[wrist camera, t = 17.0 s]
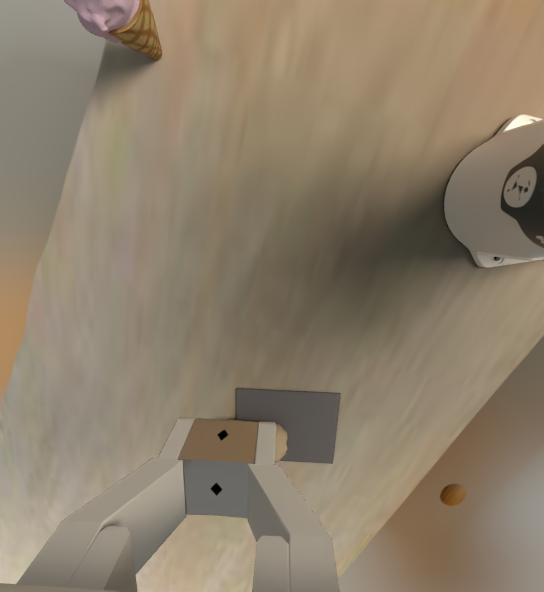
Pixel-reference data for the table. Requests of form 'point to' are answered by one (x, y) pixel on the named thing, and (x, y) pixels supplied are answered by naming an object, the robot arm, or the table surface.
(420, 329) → the table surface
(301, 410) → the mat
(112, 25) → the ice cream cone
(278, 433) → the candle
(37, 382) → the table surface
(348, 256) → the table surface
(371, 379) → the table surface
